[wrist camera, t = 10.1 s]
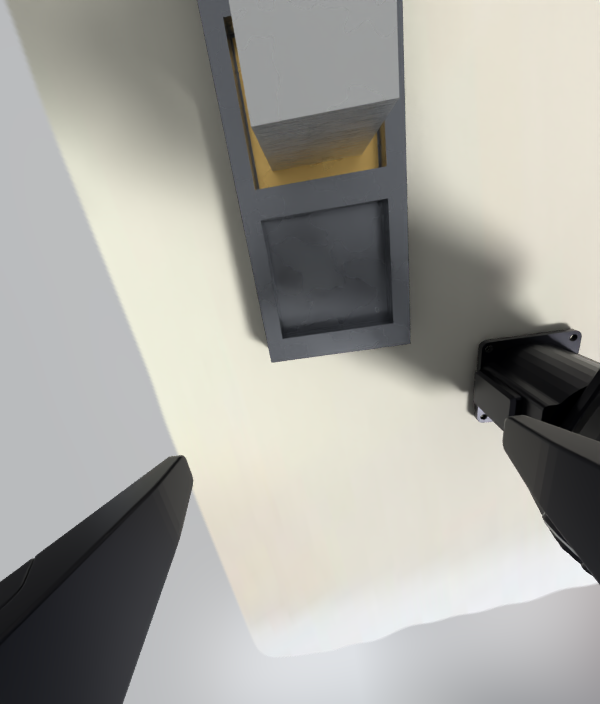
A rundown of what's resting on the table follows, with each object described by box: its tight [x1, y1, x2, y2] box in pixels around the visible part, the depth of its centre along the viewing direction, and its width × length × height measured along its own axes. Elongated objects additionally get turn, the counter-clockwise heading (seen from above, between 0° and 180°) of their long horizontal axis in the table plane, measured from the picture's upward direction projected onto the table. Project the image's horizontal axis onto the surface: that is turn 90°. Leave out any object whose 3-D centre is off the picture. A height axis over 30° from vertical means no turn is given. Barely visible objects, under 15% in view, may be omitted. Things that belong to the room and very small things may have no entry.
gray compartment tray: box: [197, 0, 411, 362], centre depth 15 cm, size 9×27×2 cm, turn 9°
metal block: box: [229, 0, 399, 171], centre depth 12 cm, size 5×5×7 cm
